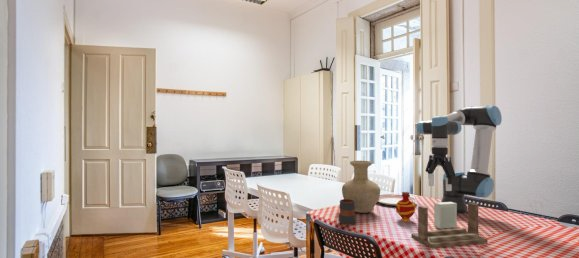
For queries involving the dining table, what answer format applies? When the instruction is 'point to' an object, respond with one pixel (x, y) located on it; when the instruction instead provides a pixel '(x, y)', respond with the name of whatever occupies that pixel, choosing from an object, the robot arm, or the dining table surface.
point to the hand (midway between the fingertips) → (439, 188)
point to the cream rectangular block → (445, 215)
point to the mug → (347, 212)
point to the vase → (361, 188)
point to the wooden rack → (449, 230)
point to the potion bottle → (405, 207)
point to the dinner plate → (392, 199)
